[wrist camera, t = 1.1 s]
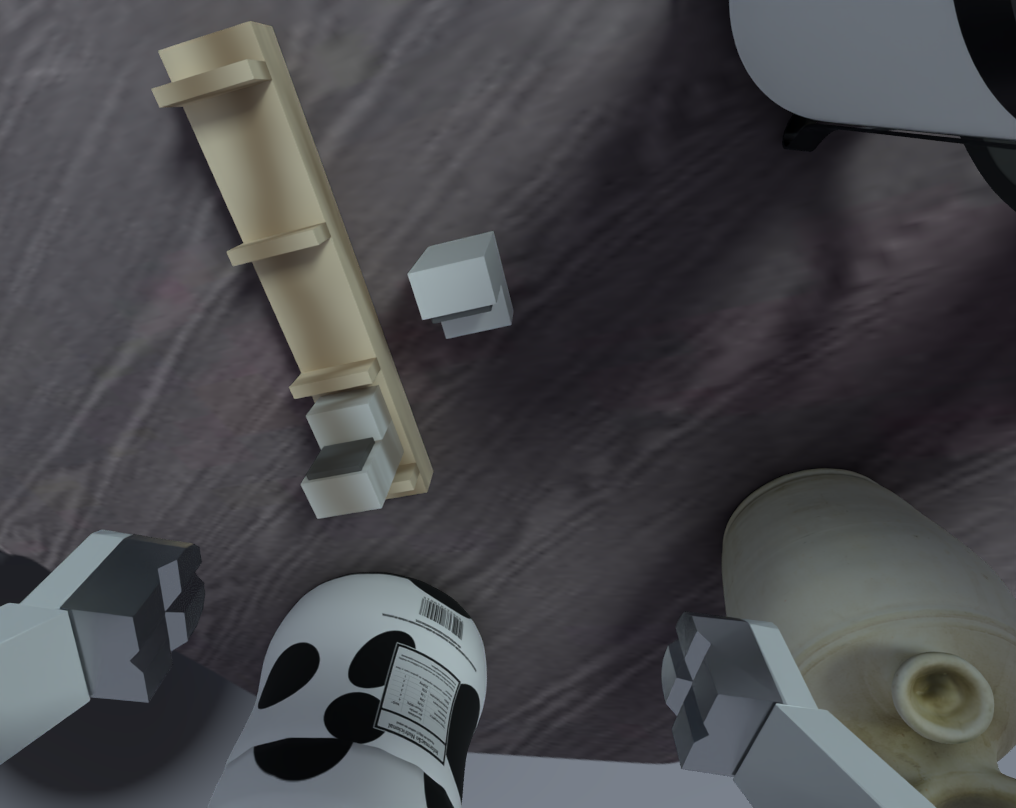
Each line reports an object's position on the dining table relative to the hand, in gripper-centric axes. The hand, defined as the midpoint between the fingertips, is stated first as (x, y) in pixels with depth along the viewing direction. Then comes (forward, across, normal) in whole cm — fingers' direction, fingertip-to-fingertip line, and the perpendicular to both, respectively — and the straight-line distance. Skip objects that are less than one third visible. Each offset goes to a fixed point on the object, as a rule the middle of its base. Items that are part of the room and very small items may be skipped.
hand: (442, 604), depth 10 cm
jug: (+28, -25, +17) cm, 41 cm away
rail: (+28, +10, +5) cm, 30 cm away
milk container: (+29, +4, +34) cm, 44 cm away
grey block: (+28, +2, +2) cm, 28 cm away
